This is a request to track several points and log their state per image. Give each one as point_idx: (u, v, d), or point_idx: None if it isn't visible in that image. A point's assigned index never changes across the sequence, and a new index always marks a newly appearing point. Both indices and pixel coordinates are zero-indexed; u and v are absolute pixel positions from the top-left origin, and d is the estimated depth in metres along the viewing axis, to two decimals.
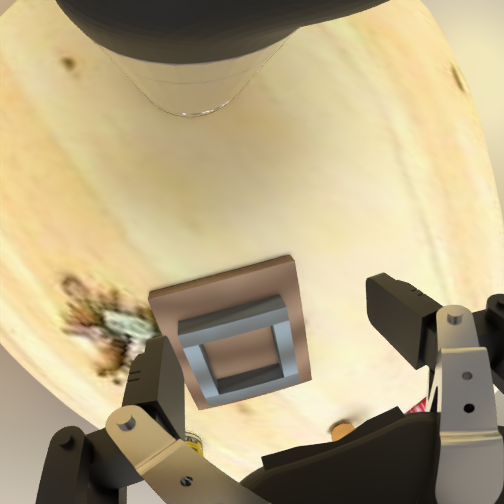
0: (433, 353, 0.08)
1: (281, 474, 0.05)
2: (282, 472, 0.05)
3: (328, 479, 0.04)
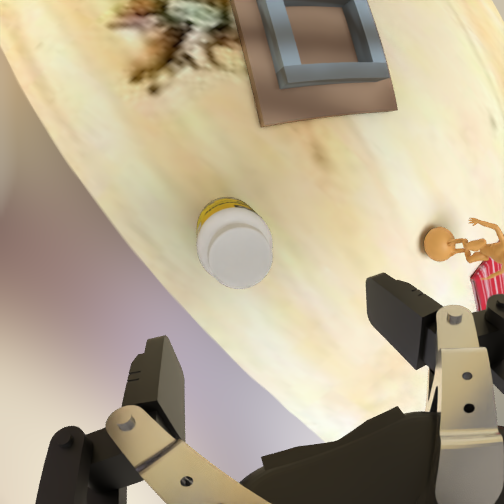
0: (433, 353, 0.08)
1: (281, 474, 0.05)
2: (282, 472, 0.05)
3: (328, 479, 0.04)
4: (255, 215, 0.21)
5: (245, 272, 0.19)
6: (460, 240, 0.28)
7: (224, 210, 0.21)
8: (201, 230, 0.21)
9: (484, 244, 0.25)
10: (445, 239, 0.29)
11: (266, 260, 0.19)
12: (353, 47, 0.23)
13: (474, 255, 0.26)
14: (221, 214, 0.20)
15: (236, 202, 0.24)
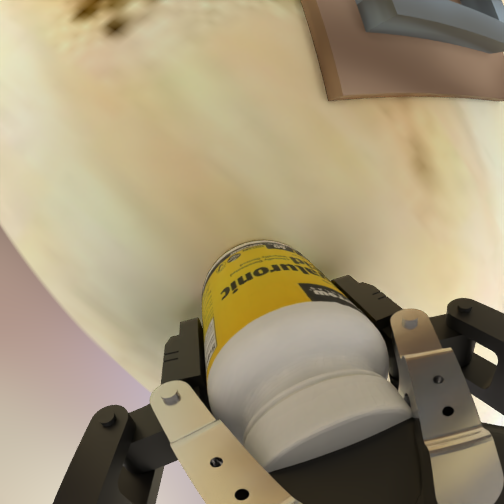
0: (389, 356, 0.08)
1: (281, 474, 0.05)
2: (282, 472, 0.05)
3: (328, 479, 0.04)
4: (365, 324, 0.07)
5: None
6: None
7: (285, 317, 0.07)
8: (220, 369, 0.07)
9: None
10: None
11: None
12: None
13: None
14: (278, 331, 0.07)
15: (294, 265, 0.10)
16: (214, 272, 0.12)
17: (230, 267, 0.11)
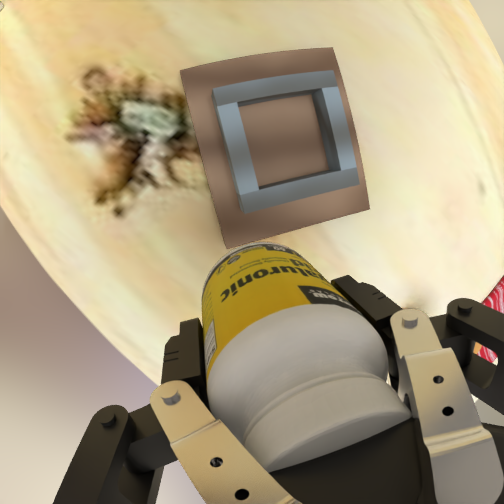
0: (389, 356, 0.08)
1: (281, 474, 0.05)
2: (282, 472, 0.05)
3: (328, 479, 0.04)
4: (364, 326, 0.07)
5: None
6: None
7: (285, 319, 0.07)
8: (220, 371, 0.07)
9: None
10: None
11: None
12: (322, 145, 0.25)
13: None
14: (277, 334, 0.07)
15: (294, 267, 0.10)
16: (214, 274, 0.12)
17: (230, 269, 0.11)
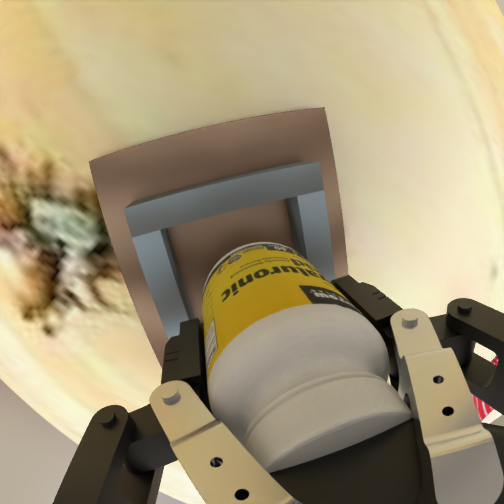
0: (389, 356, 0.08)
1: (281, 474, 0.05)
2: (282, 472, 0.05)
3: (328, 479, 0.04)
4: (365, 326, 0.07)
5: None
6: None
7: (286, 319, 0.07)
8: (221, 372, 0.07)
9: None
10: None
11: None
12: None
13: None
14: (278, 334, 0.07)
15: (294, 267, 0.10)
16: (214, 274, 0.12)
17: (230, 269, 0.11)
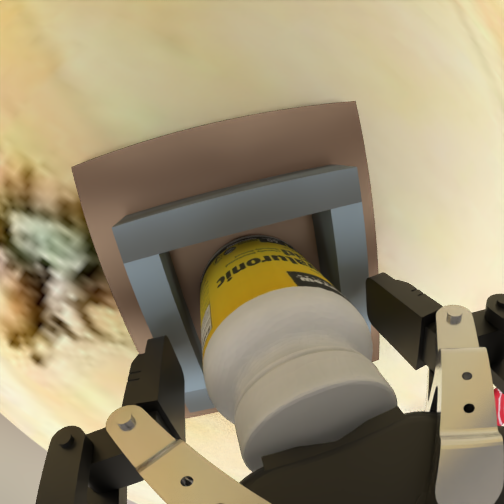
0: (432, 353, 0.08)
1: (281, 474, 0.05)
2: (282, 472, 0.05)
3: (328, 479, 0.04)
4: (347, 307, 0.08)
5: None
6: None
7: (273, 299, 0.08)
8: (214, 347, 0.08)
9: None
10: None
11: None
12: None
13: None
14: (266, 312, 0.08)
15: (284, 256, 0.11)
16: (211, 264, 0.13)
17: (226, 259, 0.12)
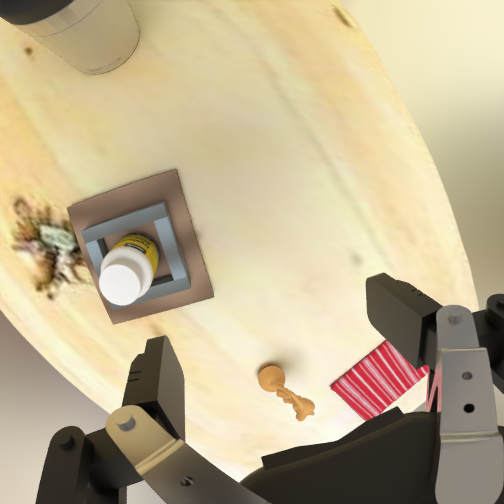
0: (433, 353, 0.08)
1: (281, 474, 0.05)
2: (282, 472, 0.05)
3: (328, 479, 0.04)
4: (135, 252, 0.27)
5: (124, 294, 0.26)
6: (279, 385, 0.40)
7: (115, 249, 0.27)
8: None
9: (289, 397, 0.36)
10: (268, 381, 0.41)
11: (136, 286, 0.25)
12: None
13: (286, 399, 0.38)
14: (112, 252, 0.27)
15: (133, 239, 0.30)
16: None
17: (119, 241, 0.31)
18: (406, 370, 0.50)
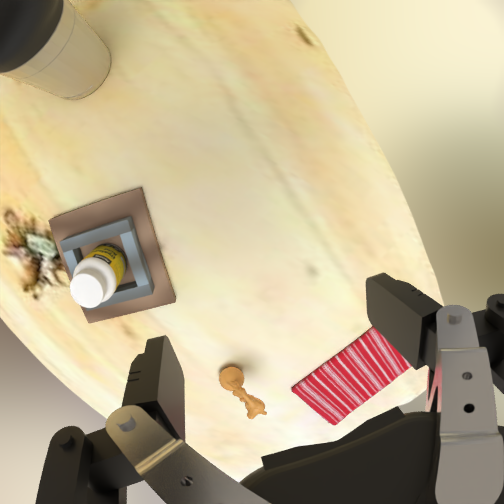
0: (432, 353, 0.08)
1: (281, 474, 0.05)
2: (282, 472, 0.05)
3: (328, 479, 0.04)
4: (101, 262, 0.31)
5: (90, 299, 0.29)
6: (236, 384, 0.43)
7: (84, 259, 0.30)
8: (74, 271, 0.30)
9: (242, 396, 0.40)
10: (227, 381, 0.44)
11: (99, 292, 0.29)
12: None
13: (241, 398, 0.41)
14: (82, 262, 0.30)
15: (102, 250, 0.34)
16: None
17: (91, 251, 0.35)
18: (369, 377, 0.54)
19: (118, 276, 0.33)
